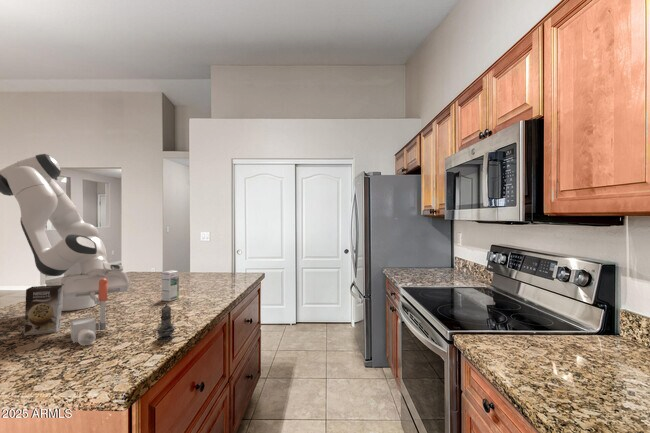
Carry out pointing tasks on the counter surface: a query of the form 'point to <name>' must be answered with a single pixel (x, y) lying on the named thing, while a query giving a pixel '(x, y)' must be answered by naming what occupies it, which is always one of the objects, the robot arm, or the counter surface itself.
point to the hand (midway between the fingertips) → (99, 302)
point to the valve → (84, 330)
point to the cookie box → (43, 309)
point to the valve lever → (102, 301)
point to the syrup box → (170, 285)
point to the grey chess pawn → (165, 325)
